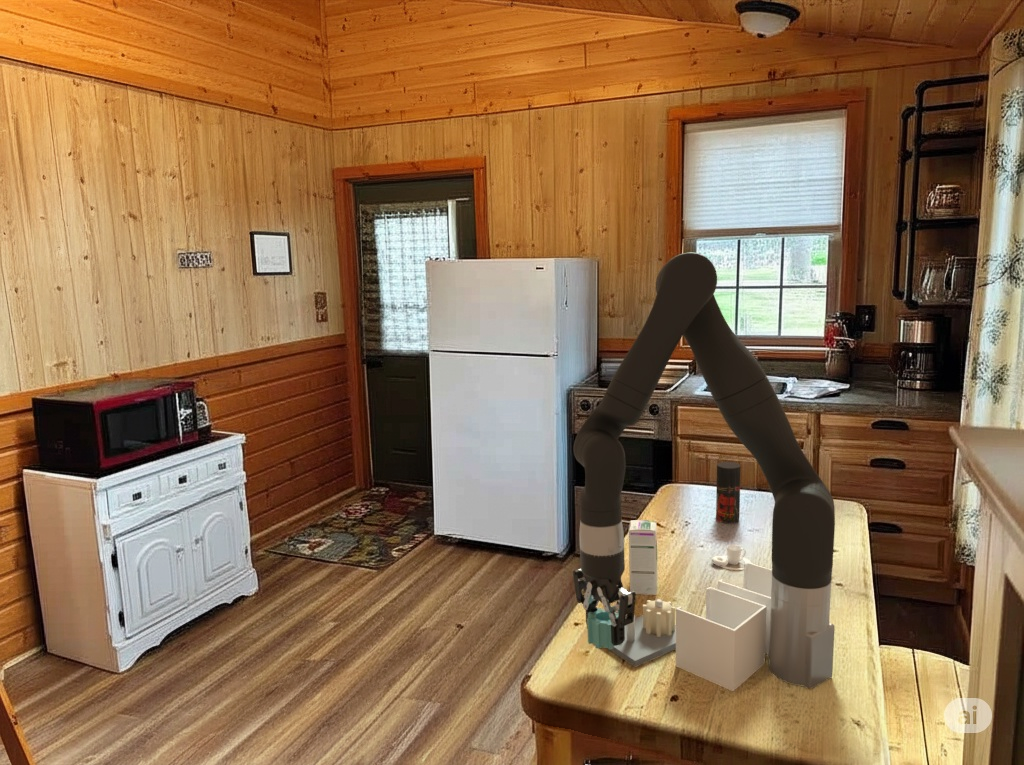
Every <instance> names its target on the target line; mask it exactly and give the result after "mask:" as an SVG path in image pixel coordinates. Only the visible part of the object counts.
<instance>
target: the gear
mask: <svg viewBox="0 0 1024 765" xmlns="http://www.w3.org/2000/svg"><path fill="white" fill-rule="evenodd" d="M597 608H598V607H597ZM615 615H616V618H617V617H619V615H618V612H617V611H615ZM611 625H612V624H611V620H610V617H609V614H608V613H606V612H605V609H602V608H601V607H599V608H598V609H597V611H595V612H589V613H588V618H587V624H586V629H587V643H588V645H591V644H593V646H595V649H598V650H600V649H601V648H604V649H605V648H606V649H607V648H608V649H607V650H609V649H613V646H615V645H613V644H612V641H611ZM621 644H622V643H621ZM621 644H619V645H621Z"/></svg>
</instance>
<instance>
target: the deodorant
mask: <svg viewBox="0 0 1024 765" xmlns="http://www.w3.org/2000/svg"><path fill="white" fill-rule="evenodd" d="M741 467H742V466H741V464H740V463H738V462H733V461H721V462H718V463H717V464H716V496H715V497H716V498H715V499H716V500H715V501H716V502H715V507H716V508H715V520H716V521H717V522H719V523H722V524H729V525H732V524H738V523H739V522H740V510H741V509H740V508H741V506H740V504H741V499H740V498H741V469H742V468H741Z"/></svg>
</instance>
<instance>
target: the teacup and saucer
mask: <svg viewBox="0 0 1024 765" xmlns="http://www.w3.org/2000/svg"><path fill="white" fill-rule="evenodd" d="M742 551H743V554H742V553H741V552H742ZM746 552H747V551H746V549H745V548H742V547H741V546H739V545H736V544H730V545H727V546H726V555H721V556H713V557H712V558H711V562H712V563H713V564H714V565H715V566H719V567H721V568H723V569H727V570H729V571H730V570H731V571H744V566H743V567H728V564H730V565H733V566H734V565H738V564H739V562H741V561H744V562H745V563H746V562H749V563H752V562H751V560H750V559H748V558H746V557H745V556H746Z"/></svg>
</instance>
